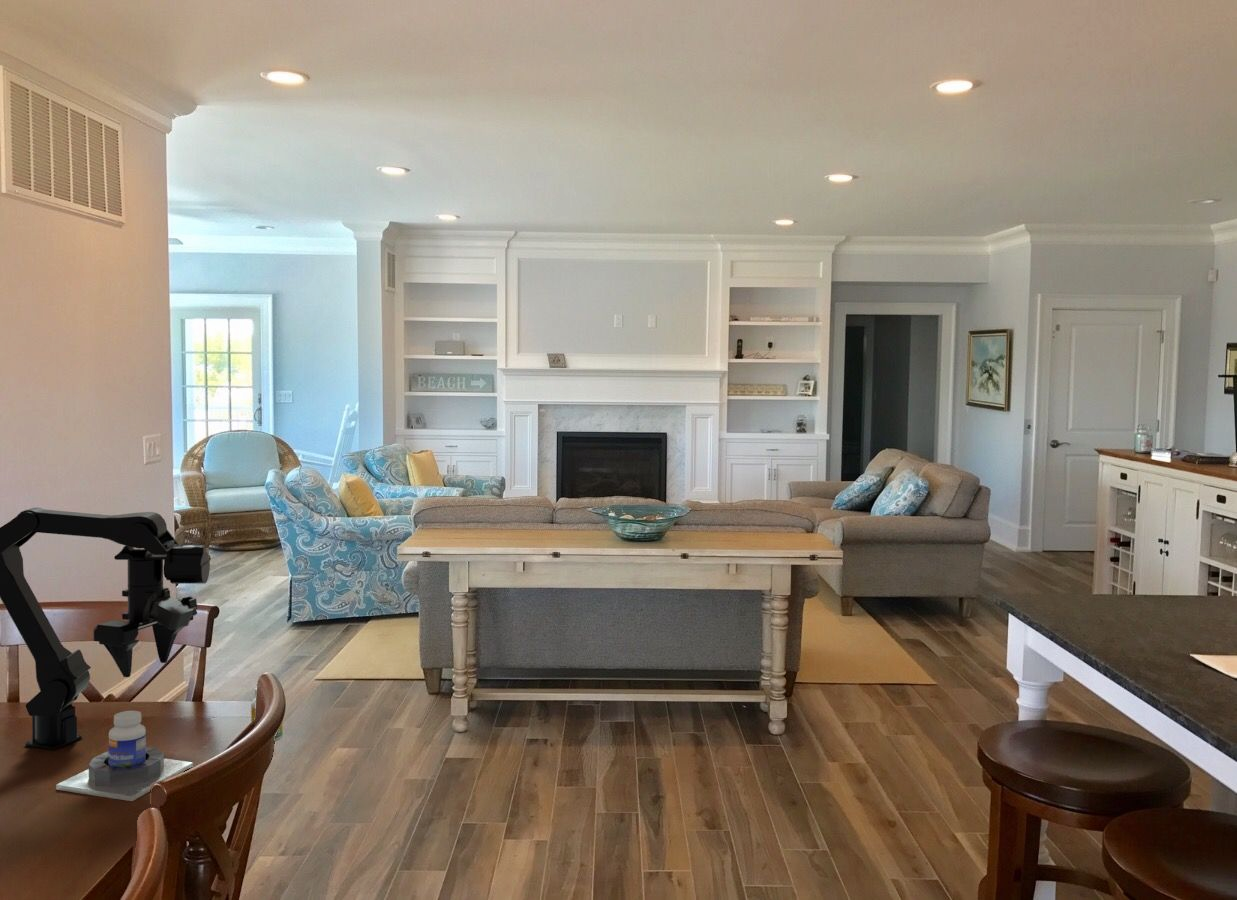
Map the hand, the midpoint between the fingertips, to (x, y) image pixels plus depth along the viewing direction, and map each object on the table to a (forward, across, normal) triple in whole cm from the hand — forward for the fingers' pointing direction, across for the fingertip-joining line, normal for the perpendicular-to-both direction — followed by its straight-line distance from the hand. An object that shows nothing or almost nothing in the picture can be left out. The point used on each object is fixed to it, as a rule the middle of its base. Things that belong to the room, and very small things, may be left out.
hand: (145, 669), depth 172 cm
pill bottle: (+12, -15, -9) cm, 21 cm away
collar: (+13, -15, -9) cm, 22 cm away
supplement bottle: (+13, +7, -20) cm, 25 cm away
